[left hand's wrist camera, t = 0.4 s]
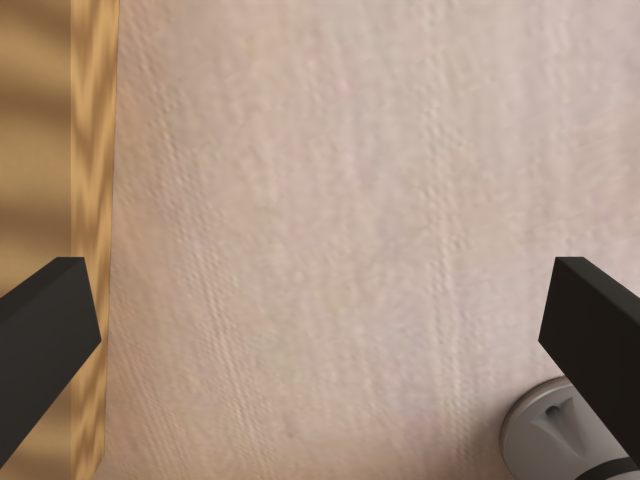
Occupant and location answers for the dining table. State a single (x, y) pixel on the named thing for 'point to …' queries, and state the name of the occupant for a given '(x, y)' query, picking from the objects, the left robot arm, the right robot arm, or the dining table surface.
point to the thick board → (59, 196)
